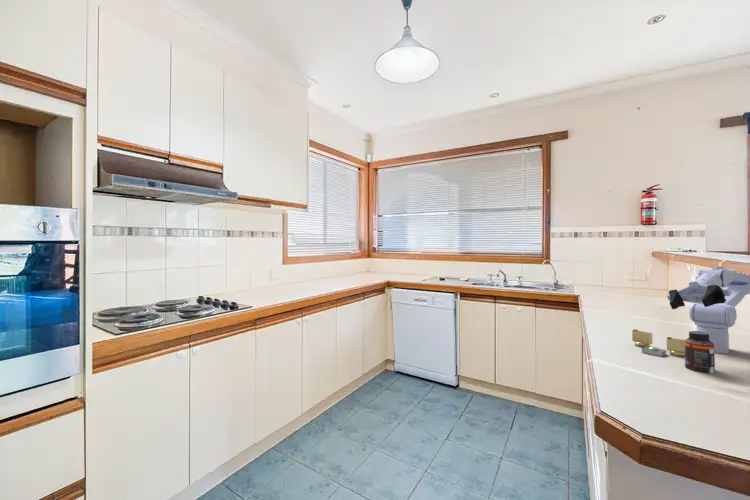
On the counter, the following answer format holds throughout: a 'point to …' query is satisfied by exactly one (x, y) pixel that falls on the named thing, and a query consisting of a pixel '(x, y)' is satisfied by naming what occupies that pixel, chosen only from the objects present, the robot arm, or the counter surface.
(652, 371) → the counter surface
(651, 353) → the instrument base
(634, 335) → the knob
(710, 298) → the robot arm
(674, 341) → the knob
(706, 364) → the supplement bottle
